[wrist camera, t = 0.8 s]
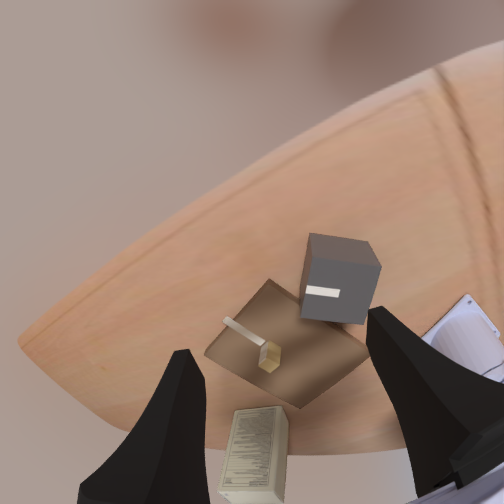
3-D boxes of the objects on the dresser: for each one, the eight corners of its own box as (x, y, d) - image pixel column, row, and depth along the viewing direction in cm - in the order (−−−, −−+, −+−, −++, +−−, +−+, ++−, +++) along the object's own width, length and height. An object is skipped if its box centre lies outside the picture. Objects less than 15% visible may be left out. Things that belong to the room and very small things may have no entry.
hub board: (370, 348, 29) (376, 371, 26) (300, 402, 33) (299, 425, 30) (260, 272, 27) (256, 293, 24) (198, 344, 31) (189, 366, 28)
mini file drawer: (367, 241, 25) (382, 267, 20) (354, 293, 27) (363, 325, 22) (309, 232, 25) (312, 257, 20) (300, 286, 27) (300, 318, 22)
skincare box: (245, 427, 36) (229, 505, 25) (233, 408, 35) (213, 491, 24) (291, 423, 35) (284, 505, 24) (283, 403, 33) (273, 492, 22)
